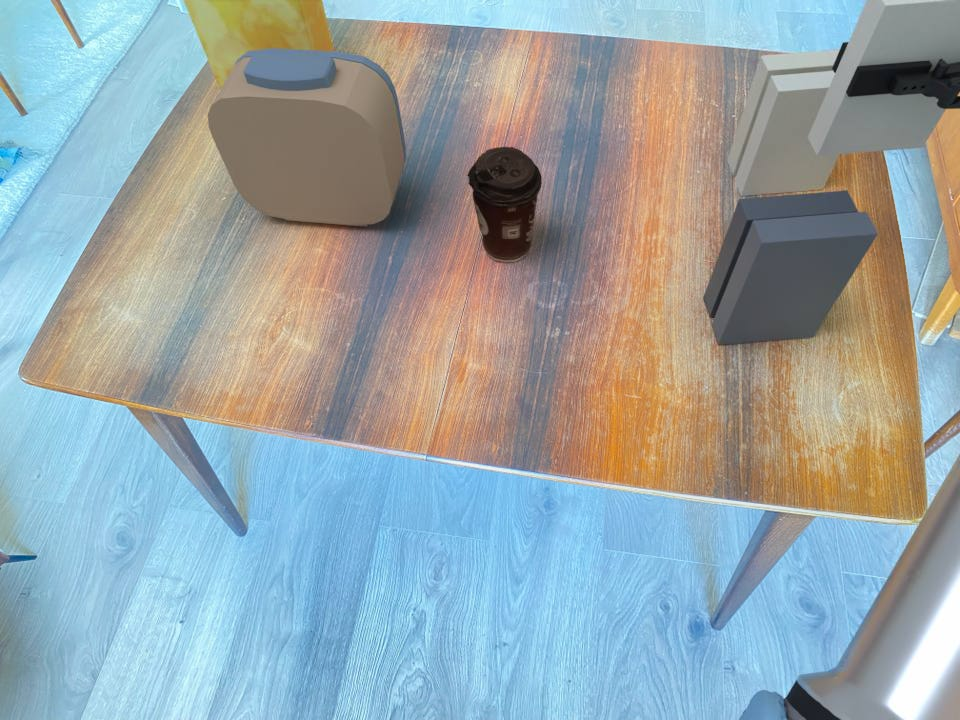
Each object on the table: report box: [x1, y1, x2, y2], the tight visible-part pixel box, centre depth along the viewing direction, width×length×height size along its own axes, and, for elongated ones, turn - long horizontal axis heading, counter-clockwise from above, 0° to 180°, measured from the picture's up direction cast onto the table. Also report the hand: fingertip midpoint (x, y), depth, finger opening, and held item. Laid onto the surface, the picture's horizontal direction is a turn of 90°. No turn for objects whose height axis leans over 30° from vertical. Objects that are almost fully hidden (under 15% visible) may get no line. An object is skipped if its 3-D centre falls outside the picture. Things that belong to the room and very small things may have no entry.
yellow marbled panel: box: [183, 0, 335, 90], centre depth 101 cm, size 18×12×24 cm
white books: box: [726, 48, 841, 197], centre depth 87 cm, size 7×11×16 cm, turn 94°
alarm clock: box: [207, 48, 407, 228], centre depth 85 cm, size 21×10×22 cm, turn 81°
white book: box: [808, 0, 960, 156], centre depth 65 cm, size 3×11×16 cm, turn 94°
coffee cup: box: [467, 146, 543, 264], centre depth 83 cm, size 9×8×13 cm
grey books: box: [702, 189, 879, 346], centre depth 73 cm, size 7×11×17 cm, turn 94°
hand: (846, 69), depth 64 cm, fingers closed on white book, 3 cm apart
